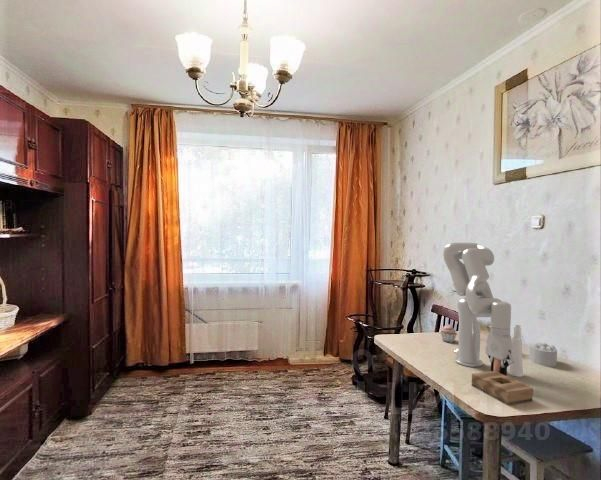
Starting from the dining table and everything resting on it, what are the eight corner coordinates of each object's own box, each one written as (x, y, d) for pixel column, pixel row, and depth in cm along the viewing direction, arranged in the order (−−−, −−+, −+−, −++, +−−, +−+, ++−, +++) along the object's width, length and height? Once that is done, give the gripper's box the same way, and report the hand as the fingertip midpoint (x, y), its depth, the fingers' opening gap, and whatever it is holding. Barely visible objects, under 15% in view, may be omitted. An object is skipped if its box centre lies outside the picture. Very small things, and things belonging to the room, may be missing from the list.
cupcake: (436, 338, 225) (437, 321, 225) (451, 338, 226) (452, 321, 226) (444, 343, 216) (444, 325, 215) (460, 343, 217) (460, 325, 216)
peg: (490, 379, 164) (491, 351, 164) (498, 378, 165) (499, 351, 165) (498, 383, 160) (499, 354, 160) (505, 382, 161) (506, 354, 161)
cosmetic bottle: (509, 370, 175) (511, 323, 174) (524, 374, 171) (526, 325, 170) (506, 374, 170) (508, 325, 170) (522, 378, 166) (524, 327, 166)
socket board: (471, 385, 157) (471, 373, 157) (494, 382, 161) (495, 370, 161) (507, 405, 140) (508, 391, 140) (532, 401, 144) (533, 388, 143)
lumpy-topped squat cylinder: (549, 358, 193) (549, 341, 193) (561, 367, 180) (562, 349, 180) (526, 357, 195) (527, 340, 195) (537, 366, 182) (538, 348, 182)
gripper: (478, 326, 169) (476, 367, 169) (509, 337, 153) (507, 382, 153) (491, 325, 171) (490, 366, 172) (524, 335, 155) (522, 380, 156)
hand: (498, 373), depth 162 cm, fingers closed on peg, 4 cm apart
